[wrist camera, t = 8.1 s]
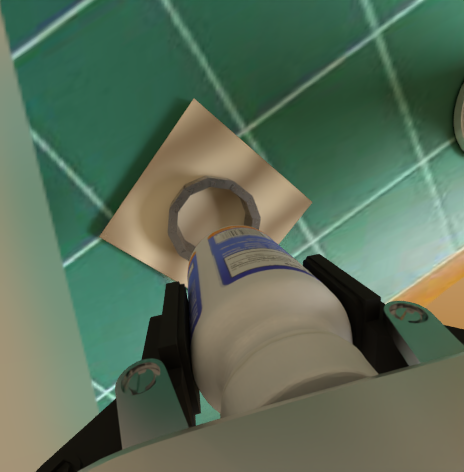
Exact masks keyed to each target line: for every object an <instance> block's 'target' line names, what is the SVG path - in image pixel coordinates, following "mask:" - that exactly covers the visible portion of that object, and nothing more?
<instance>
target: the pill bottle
mask: <svg viewBox="0 0 464 472" xmlns="http://www.w3.org/2000/svg"><path fill="white" fill-rule="evenodd" d="M187 281H188V307H189V333H190V353H191V364H192V371H193V375H194V379H195V381H196V384H197V386H198V388H199V390H200V392H201V393H202V395H203V396H204V398H205V399H206V400H207V402H208V403H209V404H210V405H211V406H212V407H213V408H214V409H215V410H217V411H218V412H219V413H220V416H221V418H224V417H228V416H231V415H235V414H238V413H242V412H246V411H249V410H253V409H256V408H260V407H263V406H267V405H270V404H274V403H277V402H281V401H284V400H288V399H292V398H295V397H299V396H302V395H306V394H310V393H313V392H317V391H320V390H324V389H328V388H331V387H335V386H338V385H342V384H346V383H349V382H353V381H357V380H360V379H364V378H367V377H371V376H375V375H378V373H377V372H376V371H375V369H374V368H373V367H372V366H371V365H370V364H369V362H368V361H367V360H366V359H365V357H364V356H363V354H362V353H361V352H360V351H359V350H358V348H356V347H355V346H354V345H353V338H352V329H351V325H350V322H349V319H348V316H347V313H346V311H345V309H344V307H343V306H342V304H341V303H340V301H339V300H338V299H337V297H336V296H335V295H334V294H333V293H332V292H331V291H330V290H329V289H328V288H327V287H326V286H325V285H324V284H323V283H322V282H321V281H320V280H318V279H317V278H316V277H315V276H314V275H312V274H311V273H310V272H309V271H308V270H307V269H306V268H304V267H303V266H302V265H301V264H300V263H299V262H298V261H297V260H296V259H294V258H293V257H292V256H291V255H290V254H289V253H287V252H286V251H285V250H284V249H283V248H281V247H280V246H279V245H278V244H277V243H276V242H275V241H273V240H272V239H271V238H270V237H269V236H267V235H266V234H265V233H263V232H261V231H260V230H258V229H256V228H253V227H250V226H245V225H231V226H226V227H222V228H220V229H217V230H215V231H214V232H212V233H210V234H209V235H207V236H206V237H205V238H204V239H203V240H201V242H200V243H199V244H198V245H197V246H196V248H195V249H194V251H193V253H192V255H191V257H190V260H189V265H188V272H187Z"/></svg>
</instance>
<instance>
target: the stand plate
mask: <svg viewBox="0 0 464 472" xmlns="http://www.w3.org/2000/svg"><path fill="white" fill-rule="evenodd" d="M203 176H214V177H221V178H228V179H230V180H232V181H234V182H236V183H237V184H238V185H240V186H241V187H242V188H243V189H245V190H246V191H247V192H248V193H250V194H251V195H252V196H253V198H254V201H255V203H256V206H257V209H258V211H259V214H260V217H261V221H260V227H259V230H260V231H261V232H263V233H265V234H266V235H267V236H269V237H270V238H271V239H272V240H273V241H275V242H276V243H277V244H279V243H280V242H281V241H282V239H283V238H284V237H285V236H286V234H287V233H288V232H289V231H290V229H291V228H292V227H293V226H294V224H295V223H296V222H297V221H298V220H299V218H300V217H301V216H302V215H303V213H304V212H305V211H306V210H307V208H308V207H309V206H310V205H311V203H312V201H310V200H309V199H308V198H307V197H306V196H305V195H304V194H302V193H301V192H300V191H299V190H298V189H297V188H296V187H294V186H293V185H292V184H291V183H290V182H289V181H288V180H286V179H285V178H284V177H283V176H282V175H281V174H280V173H278V172H277V171H276V170H275V169H274V168H273V167H272V166H271V165H269V164H268V163H267V162H266V161H265V160H264V159H263V158H261V157H260V156H259V155H258V154H257V153H256V152H255V151H253V150H252V149H251V148H250V147H249V146H248V145H247V144H245V143H244V142H243V141H242V140H241V139H240V138H239V137H237V136H236V135H235V134H234V133H233V132H232V131H231V130H229V129H228V128H227V127H226V126H225V125H224V124H223V123H221V122H220V121H219V120H218V119H217V118H216V117H215V116H213V115H212V114H211V113H210V112H209V111H208V110H207V109H206V108H204V107H203V106H202V105H201V104H200V103H199V102H198V101H196V100H195V99H193V101H192V102H191V103H190V105H189V106H188V108H187V109H186V111H185V112H184V114H183V115H182V117H181V118H180V120H179V121H178V122H177V124H176V125H175V127H174V128H173V130H172V131H171V133H170V134H169V136H168V137H167V139H166V140H165V141H164V143H163V144H162V146H161V147H160V149H159V150H158V152H157V153H156V155H155V156H154V157H153V159H152V160H151V162H150V163H149V165H148V166H147V168H146V169H145V171H144V172H143V174H142V175H141V176H140V178H139V179H138V181H137V182H136V184H135V185H134V187H133V188H132V190H131V191H130V193H129V194H128V195H127V197H126V198H125V200H124V201H123V203H122V204H121V206H120V207H119V209H118V210H117V212H116V213H115V214H114V216H113V217H112V219H111V220H110V222H109V223H108V225H107V226H106V228H105V229H104V231H103V232H102V233H101V235H100V236H99V237H100V238H102V239H104V240H105V241H107V242H109V243H111V244H112V245H114V246H116V247H118V248H119V249H121V250H123V251H125V252H126V253H128V254H130V255H131V256H133V257H135V258H137V259H138V260H140V261H142V262H144V263H145V264H147V265H149V266H151V267H152V268H154V269H156V270H158V271H159V272H161V273H163V274H165V275H166V276H168V277H170V278H171V279H173V280H175V281H177V282H178V281H179V283H180V284H185V287H187V288H188V281H187V272H188V265H189V261H188V260H186V259H184V258H183V257H181V256H179V254H178V253H177V251H176V249H175V247H174V245H173V243H172V242H171V240H170V238H169V236H168V219H169V208H170V205H171V202H172V201H173V200H174V198H175V197H176V195H177V194H178V193H179V191H180V190H181V188H182V187H183V186H184V185H185V184H187V183H189V182H191V181H194V180H196V179H198V178H201V177H203ZM244 219H245V211H244V208H243V206H242V203H241V200H240V198H239V197H238V196H237V195H236V194H235V193H233V192H232V191H231V190H229V189H221V188H213V187H209V188H206V189H204V190H202V191H200V192H197V193H195V194H193V195H190V197H189V198H188V199H187V201H186V202H185V204H184V205H183V206H182V208H181V209H180V210H179V212H178V222H177V224H178V226H179V228H180V230H181V232H182V234H183V236H184V238H185V240H186V241H188V242H189V243H191V244H192V245H194V246H197V245H198V244H199V243H200V242H201V240H203V239H204V238H205V237H206V236H207V235H209V234H210V233H212V232H214V231H215V230H217V229H220V228H222V227H226V226H231V225H244Z"/></svg>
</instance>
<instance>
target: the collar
mask: <svg viewBox="0 0 464 472" xmlns="http://www.w3.org/2000/svg"><path fill="white" fill-rule="evenodd" d="M209 187H213V188H221V189H229V190H231V191H232V192H233V193H235V194H236V195H237V196H238V197H239V198H240V200H241V203H242V206H243V208H244V211H245V219H244V225H245V226H250V227H253V228H256V229H258V230H259V227H260V221H261V217H260V214H259V211H258V209H257V206H256V203H255V201H254V198H253V196H252V195H251V194H250V193H248V192H247V191H246V190H245V189H243V188H242V187H241V186H240V185H238V184H237V183H236V182H234V181H232V180H230V179H228V178H221V177H214V176H203V177H201V178H198V179H196V180H194V181H191V182H189V183H187V184H185V185H184V186H183V187H182V188H181V190H180V191H179V193H178V194H177V195H176V197H175V198H174V200H173V201H172V202H171V205H170V208H169V219H168V236H169V238H170V240H171V242H172V243H173V245H174V247H175V249H176V251H177V253H178V254H179V256H181V257H183V258H184V259H186V260H188V261H189V260H190V257H191V255H192V253H193V251H194V249H195V248H196V246H194V245H192V244H191V243H189V242H188V241H186V240H185V238H184V236H183V234H182V232H181V230H180V228H179V226H178V224H177V222H178V212H179V210H180V209H181V208H182V206H183V205H184V204H185V202H186V201H187V199H188V198H189V197H190V195H193V194H195V193H197V192H200V191H202V190H204V189H206V188H209Z"/></svg>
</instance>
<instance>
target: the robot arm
mask: <svg viewBox="0 0 464 472" xmlns="http://www.w3.org/2000/svg"><path fill="white" fill-rule="evenodd" d="M454 131H455V135H456V139H457V142H458V144H459V145H460V147H461V149H462V150H463V151H464V83H463V85H462V87H461V89H460V92H459V95H458V98H457V101H456V106H455V111H454ZM303 267H304V268H306V269H307V270H308V271H309V272H310V273H311V274H312V275H314V276H315V277H316V278H317V279H318V280H320V281H321V282H322V283H323V284H324V285H325V286H326V287H327V288H328V289H329V290H330V291H331V292H332V293H333V294H334V295H335V296H336V297H337V299H338V300H339V301H340V303H341V304H342V306H343V307H344V309H345V311H346V313H347V316H348V319H349V322H350V325H351V329H352V338H353V345H354V346H355V347H356V348H358V350H359V351H360V352H361V353H362V354H363V356H364V357H365V359H366V360H367V361H368V362H369V364H370V365H371V366H372V367H373V368H374V369H375V371H376V372H377V373H378V375H375V376H371V377H367V378H364V379H360V380H357V381H353V382H349V383H346V384H342V385H338V386H335V387H331V388H328V389H324V390H320V391H317V392H313V393H310V394H306V395H302V396H299V397H295V398H292V399H288V400H284V401H281V402H277V403H274V404H270V405H267V406H263V407H260V408H256V409H253V410H249V411H246V412H242V413H238V414H235V415H231V416H228V417H224V418H221V419H217V420H214V421H210V422H207V423H204V424H200V425H197V426H196V421H195V415H196V414H200V413H201V408H200V394H199V388H198V386H197V384H196V381H195V379H194V375H193V371H192V364H191V353H190V333H189V307H188V298H187V293H186V288H185V284H180V283H179V281H178V282H172V283H167V284H166V289H165V297H164V304H163V312H162V315H158V316H154V317H151V318H150V321H149V326H148V331H147V336H146V341H145V346H144V350H143V355H142V360H141V361H138V362H136V363H134V364H132V365H131V366H129V367H128V368H127V369H126V370H124V371H123V373H122V374H121V375H120V376H119V378H118V380H117V382H116V386H115V393H116V399H115V400H114V401H113V402H112V403H110V404H109V405H108V406H107V407H106V408H105V409H104V410H103V411H102V412H100V413H99V414H98V415H97V416H96V417H95V418H94V419H93V420H92V421H91V422H89V423H88V424H87V425H86V426H85V427H84V428H83V429H82V430H81V431H79V432H78V433H77V434H76V435H75V436H74V437H73V438H72V439H70V440H69V441H68V442H67V443H66V444H65V445H64V446H63V447H62V448H60V449H59V451H57V452H56V453H55V454H54V455H53V456H52V457H51V458H49V460H47V461H46V462H45V463H44V464H43V465H42V466H41V467H40V468H39V469H38V470H37V471H36V472H464V329H459V328H455V327H450V326H446V325H443V324H442V323H441V322H440V321H439V320H438V319H437V318H436V317H435V316H434V315H433V314H432V313H431V312H430V311H429V310H427V309H426V308H424V307H422V306H420V305H418V304H415V303H411V302H406V301H392V302H389V303H387V304H386V305H385V304H384V303H382V302H381V297H380V296H378V295H377V294H376V293H374V292H373V291H371V290H370V289H369V288H367V287H366V286H364V285H363V284H361V283H360V282H359V281H357V280H356V279H354V278H353V277H351V276H350V275H349V274H347V273H346V272H344V271H343V270H341V269H340V268H339V267H337V266H336V265H334V264H333V263H332V262H330V261H329V260H327V259H326V258H324V257H323V256H322V255H320V254H316V255H311V256H307V257H306V260H304V261H303Z"/></svg>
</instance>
